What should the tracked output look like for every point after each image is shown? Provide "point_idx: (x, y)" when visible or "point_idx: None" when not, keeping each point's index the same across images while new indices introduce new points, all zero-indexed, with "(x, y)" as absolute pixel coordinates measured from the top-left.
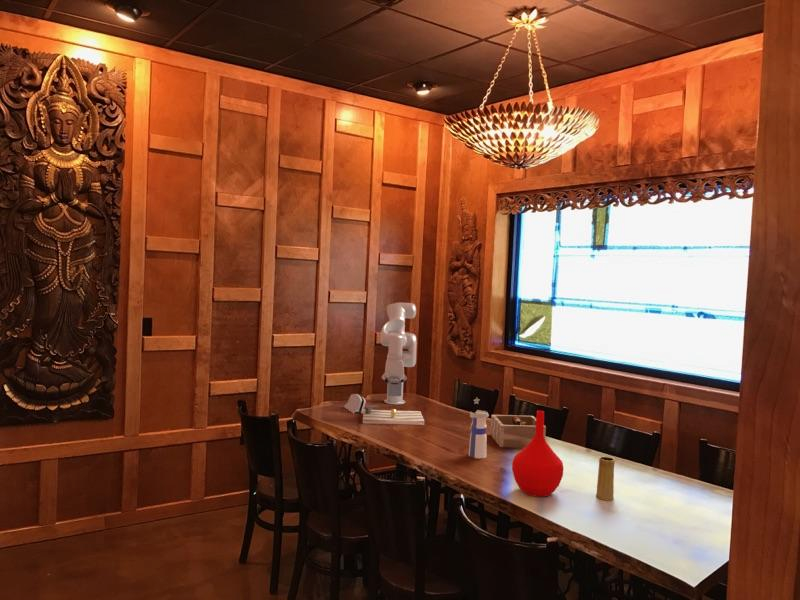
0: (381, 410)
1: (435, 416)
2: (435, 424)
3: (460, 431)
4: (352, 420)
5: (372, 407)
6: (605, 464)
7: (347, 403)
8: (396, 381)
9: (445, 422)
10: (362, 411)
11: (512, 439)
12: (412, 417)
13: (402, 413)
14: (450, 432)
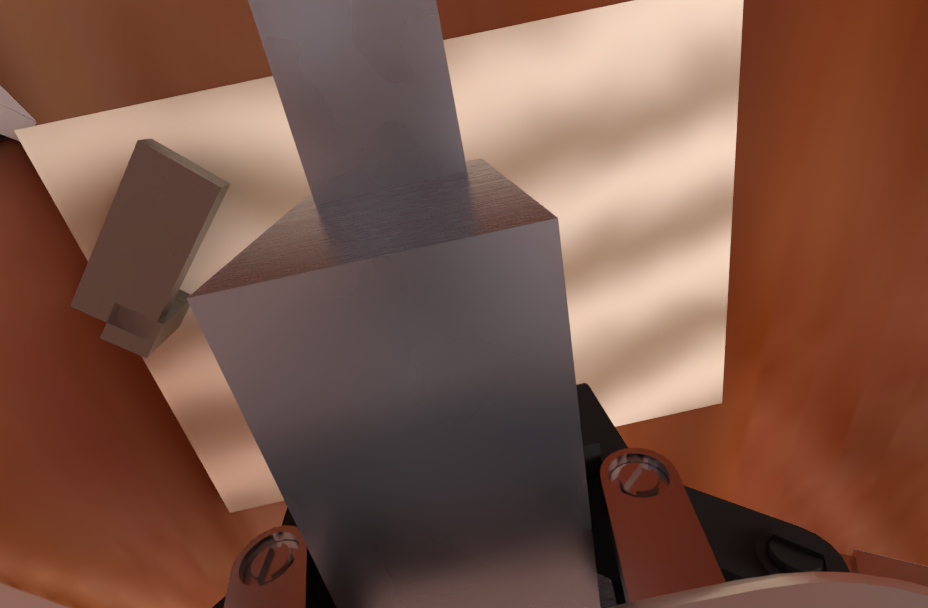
0: (256, 100)
1: (871, 16)
2: (792, 341)
3: (911, 454)
4: (120, 442)
5: (174, 289)
6: None
7: None
8: (552, 583)
9: (892, 251)
10: (20, 119)
11: None
12: (630, 317)
13: (528, 181)
14: (840, 493)
